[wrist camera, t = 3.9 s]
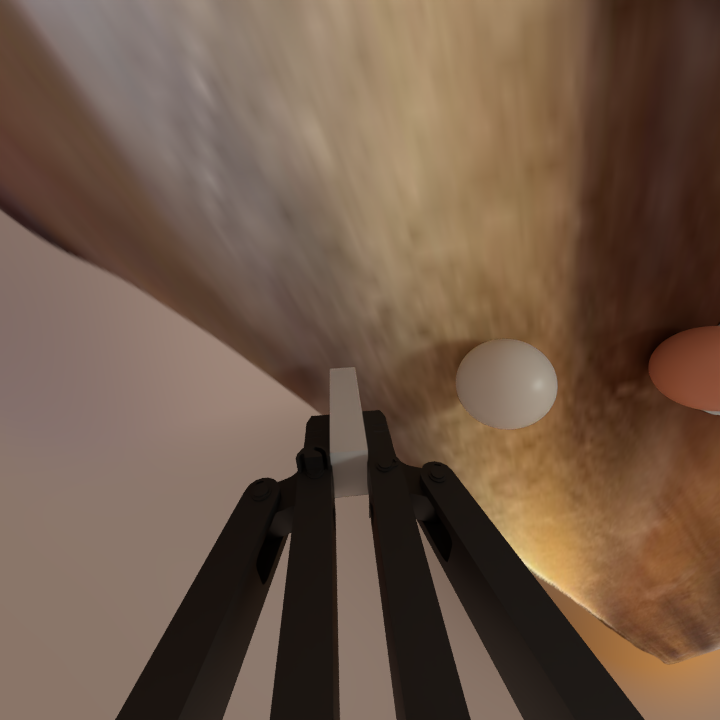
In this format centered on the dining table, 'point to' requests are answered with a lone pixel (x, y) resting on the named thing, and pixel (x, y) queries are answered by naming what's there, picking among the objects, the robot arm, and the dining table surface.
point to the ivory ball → (506, 384)
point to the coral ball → (689, 368)
